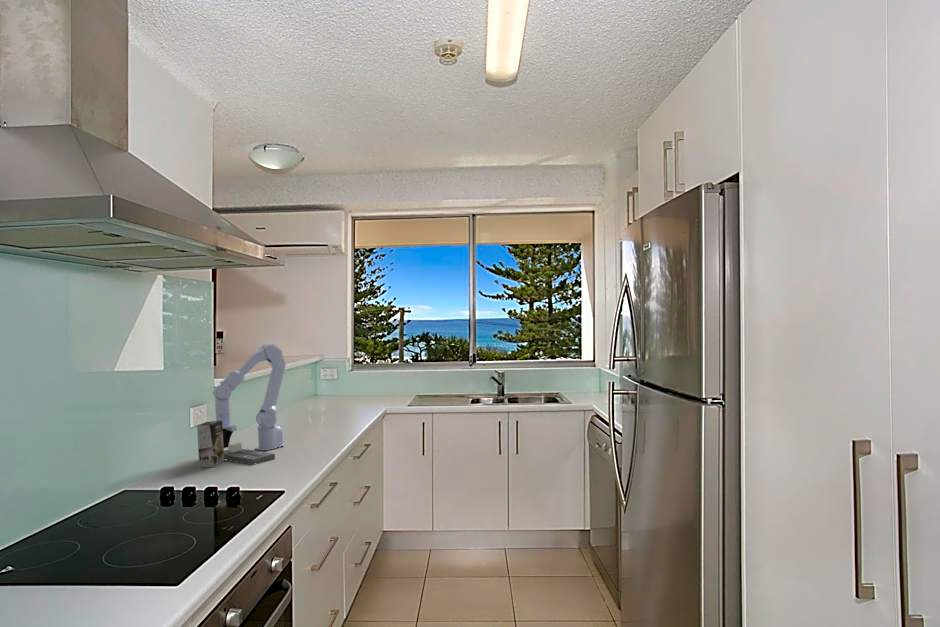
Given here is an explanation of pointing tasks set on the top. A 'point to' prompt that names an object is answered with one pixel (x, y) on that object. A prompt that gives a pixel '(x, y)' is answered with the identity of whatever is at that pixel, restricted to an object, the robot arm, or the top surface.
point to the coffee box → (210, 444)
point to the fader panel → (248, 456)
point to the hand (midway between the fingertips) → (225, 447)
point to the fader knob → (234, 447)
